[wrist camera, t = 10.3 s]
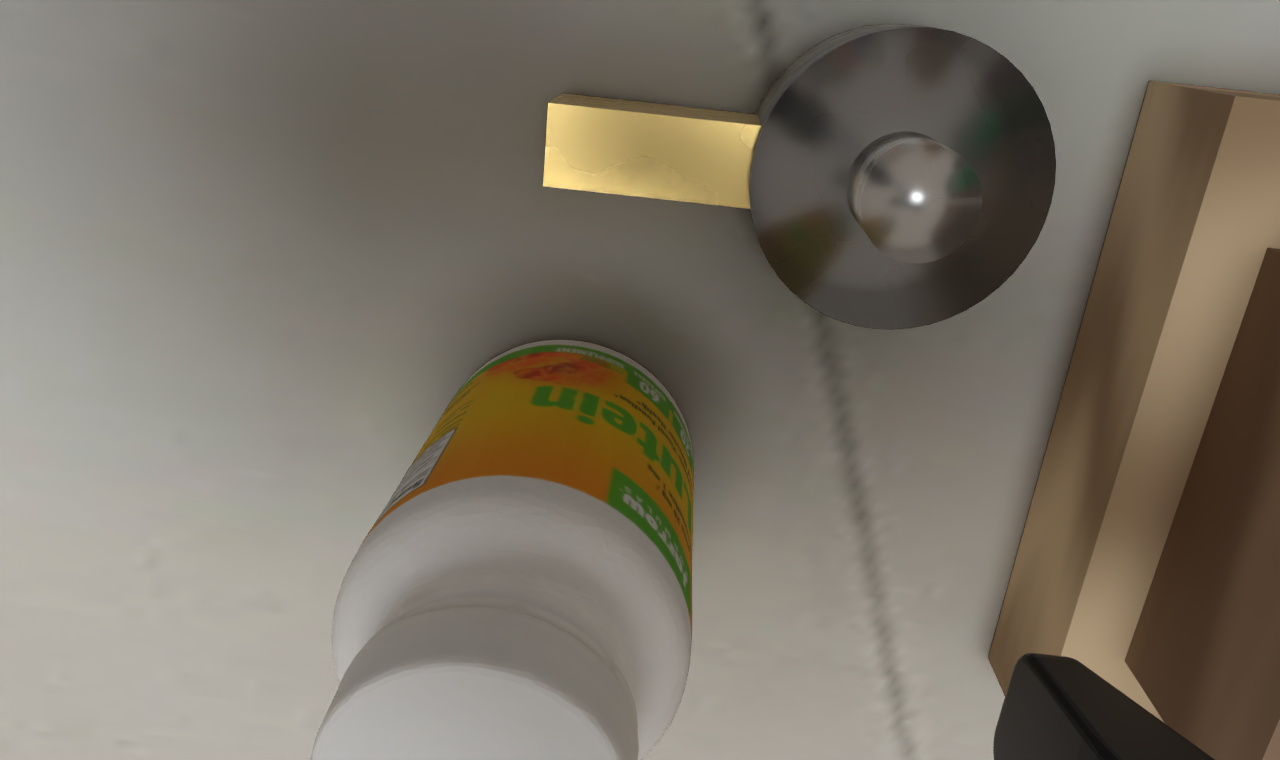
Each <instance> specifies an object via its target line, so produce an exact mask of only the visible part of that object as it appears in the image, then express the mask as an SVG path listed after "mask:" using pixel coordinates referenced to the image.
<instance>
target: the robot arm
mask: <svg viewBox="0 0 1280 760" xmlns="http://www.w3.org/2000/svg"><path fill="white" fill-rule="evenodd" d="M993 751H994V760H1215V759H1214V758H1212V757H1211V756H1209V755H1208V754H1207V753H1205V752H1204V751H1202V750H1201V749H1200V748H1198V747H1197V746H1196V745H1194V744H1193V743H1191V742H1190V741H1189V740H1187V739H1186V738H1184V737H1183V736H1182V735H1180V734H1179V733H1178V732H1176V731H1175V730H1173V729H1172V728H1171V727H1169V726H1168V725H1166V724H1165V723H1164V722H1162V721H1161V720H1160V719H1158V718H1157V717H1155V716H1154V715H1153V714H1151V713H1150V712H1148V711H1147V710H1146V709H1144V708H1143V707H1142V706H1140V705H1139V704H1137V703H1136V702H1135V701H1133V700H1132V699H1130V698H1129V697H1128V696H1126V695H1125V694H1124V693H1122V692H1121V691H1119V690H1118V689H1117V688H1115V687H1114V686H1112V685H1111V684H1110V683H1108V682H1107V681H1106V680H1104V679H1103V678H1101V677H1100V676H1099V675H1097V674H1096V673H1095V672H1093V671H1092V670H1090V669H1089V668H1088V667H1086V666H1085V665H1083V664H1082V663H1081V662H1079V661H1078V660H1076V659H1073V658H1070V657H1065V656H1056V655H1047V654H1038V653H1026V654H1024V655H1023V656H1021V657H1020V658H1019V659H1018V661H1017V662H1016V664H1015V666H1014V669H1013V672H1012V676H1011V679H1010V682H1009V686H1008V689H1007V693H1006V696H1005V699H1004V703H1003V706H1002V710H1001V713H1000V716H999V720H998V723H997V727H996V730H995V735H994V749H993Z"/></svg>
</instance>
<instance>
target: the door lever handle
mask: <svg viewBox="0 0 1280 760" xmlns="http://www.w3.org/2000/svg"><path fill="white" fill-rule="evenodd" d="M1055 170H1056V159H1055V146H1054V140H1053V135H1052V131H1051V127H1050V123H1049V120H1048V118H1047V115H1046V112H1045V110H1044V107H1043V105H1042V103H1041V101H1040V99H1039V98H1038V96H1037V94H1036V92H1035V90H1034V89H1033V87H1032V86H1031V85H1030V83H1029V82H1028V81H1027V79H1026V78H1025V77H1024V76H1023V74H1022V73H1021V72H1020V71H1019V70H1018V69H1017V68H1016V67H1015V66H1014V65H1013V64H1012V63H1011V62H1010V61H1009V60H1008V59H1007V58H1005V57H1004V56H1002V55H1001V54H999V53H998V52H997V51H995V50H994V49H992V48H991V47H989V46H987V45H985V44H983V43H981V42H979V41H977V40H975V39H973V38H971V37H968V36H965V35H962V34H959V33H956V32H953V31H948V30H942V29H936V28H930V27H921V26H913V25H904V24H879V25H869V26H864V27H860V28H856V29H851V30H848V31H845V32H843V33H840V34H837V35H835V36H832V37H830V38H828V39H826V40H824V41H823V42H821V43H819V44H817V45H815V46H814V47H812V48H811V49H809V50H808V51H807V52H805V53H804V54H802V55H801V56H800V57H798V58H797V59H796V60H795V61H794V62H793V63H792V64H791V65H790V66H789V67H788V68H786V69H785V70H784V72H783V73H782V74H781V75H780V76H779V78H778V79H777V80H776V81H775V82H774V83H773V85H772V86H771V88H770V89H769V91H768V92H767V94H766V96H765V97H764V99H763V100H762V102H761V104H760V106H759V108H758V111H757V113H756V114H749V113H740V112H731V111H721V110H712V109H703V108H694V107H685V106H675V105H666V104H657V103H648V102H638V101H629V100H620V99H611V98H602V97H592V96H583V95H574V94H565V93H562V94H560V95H559V96H557V97H556V98H554V99H553V100H551V101H550V102H549V103H548V114H547V130H546V146H545V162H544V178H543V186H546V187H555V188H564V189H573V190H582V191H591V192H600V193H610V194H619V195H628V196H637V197H646V198H655V199H664V200H673V201H682V202H692V203H701V204H710V205H719V206H728V207H737V208H746V209H750V212H751V216H752V220H753V224H754V228H755V231H756V234H757V237H758V240H759V243H760V246H761V248H762V250H763V252H764V254H765V256H766V258H767V260H768V262H769V263H770V265H771V266H772V268H773V269H774V271H775V272H776V274H777V275H778V277H779V278H780V279H781V280H782V281H783V282H784V283H785V285H786V286H787V287H788V288H789V289H790V290H791V291H792V292H793V293H794V294H795V295H797V296H798V297H799V298H800V299H801V300H803V301H804V302H805V303H807V304H808V305H810V306H811V307H813V308H814V309H816V310H818V311H819V312H821V313H823V314H825V315H827V316H829V317H832V318H834V319H836V320H839V321H842V322H845V323H848V324H852V325H855V326H861V327H866V328H872V329H890V330H893V329H906V328H914V327H919V326H924V325H929V324H932V323H935V322H939V321H942V320H945V319H948V318H950V317H952V316H954V315H957V314H959V313H961V312H963V311H965V310H967V309H969V308H970V307H972V306H974V305H975V304H977V303H979V302H980V301H982V300H983V299H985V298H986V297H987V296H989V295H990V294H991V293H992V292H994V291H995V290H996V289H998V288H999V287H1000V286H1001V285H1002V284H1003V283H1004V282H1005V281H1006V280H1007V279H1008V278H1009V277H1010V276H1011V275H1012V274H1013V273H1014V272H1015V270H1016V269H1017V268H1018V267H1019V265H1020V264H1021V263H1022V262H1023V260H1024V259H1025V258H1026V256H1027V255H1028V253H1029V252H1030V250H1031V248H1032V247H1033V245H1034V244H1035V242H1036V240H1037V238H1038V236H1039V234H1040V232H1041V230H1042V227H1043V225H1044V223H1045V220H1046V217H1047V214H1048V211H1049V208H1050V205H1051V201H1052V196H1053V190H1054V185H1055Z"/></svg>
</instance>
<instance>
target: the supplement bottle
mask: <svg viewBox="0 0 1280 760" xmlns="http://www.w3.org/2000/svg"><path fill="white" fill-rule="evenodd" d="M693 491H694V467H693V452H692V445H691V439H690V435H689V432H688V428H687V425H686V423H685V420H684V417H683V415H682V413H681V411H680V410H679V408H678V406H677V404H676V402H675V401H674V399H673V398H672V396H671V395H670V393H669V392H668V391H667V389H666V388H665V387H664V386H663V385H662V384H661V383H660V382H659V381H658V380H657V379H656V378H655V377H654V376H653V375H652V374H651V373H650V372H649V371H648V370H646V369H645V368H644V367H642V366H641V365H640V364H638V363H636V362H635V361H633V360H632V359H630V358H628V357H627V356H625V355H623V354H621V353H619V352H616V351H614V350H611V349H609V348H606V347H603V346H600V345H597V344H593V343H588V342H583V341H575V340H546V341H539V342H533V343H529V344H525V345H522V346H519V347H516V348H513V349H511V350H509V351H506V352H504V353H502V354H500V355H498V356H497V357H495V358H493V359H492V360H490V361H489V362H487V363H486V364H485V365H483V366H482V367H481V368H480V369H478V370H477V371H476V372H475V373H474V374H473V375H472V376H471V377H470V378H469V379H468V380H467V381H466V382H465V384H464V385H463V386H462V387H461V388H460V390H459V391H458V392H457V394H456V395H455V396H454V398H453V399H452V401H451V402H450V404H449V405H448V407H447V408H446V410H445V412H444V413H443V415H442V416H441V418H440V420H439V421H438V423H437V425H436V426H435V428H434V429H433V431H432V433H431V434H430V436H429V437H428V439H427V441H426V442H425V444H424V445H423V447H422V448H421V450H420V452H419V454H418V455H417V457H416V458H415V460H414V462H413V463H412V465H411V467H410V468H409V469H408V471H407V472H406V474H405V476H404V477H403V479H402V481H401V482H400V484H399V486H398V488H397V489H396V491H395V492H394V494H393V495H392V497H391V499H390V501H389V502H388V504H387V505H386V507H385V508H384V510H383V512H382V513H381V515H380V517H379V518H378V519H377V521H376V522H375V524H374V526H373V527H372V529H371V530H370V531H369V533H368V535H367V536H366V538H365V539H364V541H363V542H362V544H361V546H360V548H359V550H358V552H357V553H356V555H355V557H354V559H353V560H352V563H351V565H350V567H349V568H348V571H347V573H346V575H345V577H344V579H343V582H342V585H341V588H340V590H339V593H338V596H337V600H336V605H335V609H334V617H333V628H332V651H333V660H334V665H335V670H336V674H337V677H338V680H339V683H340V684H339V687H338V690H337V692H336V694H335V696H334V699H333V701H332V703H331V705H330V707H329V709H328V711H327V714H326V716H325V718H324V720H323V722H322V724H321V726H320V728H319V731H318V733H317V736H316V739H315V743H314V747H313V751H312V755H311V760H642V759H643V758H644V757H645V756H646V755H647V754H648V753H649V752H650V751H651V750H652V749H653V747H654V746H655V745H656V744H657V743H658V741H659V740H660V739H661V737H662V736H663V735H664V733H665V732H666V730H667V729H668V727H669V725H670V724H671V722H672V720H673V718H674V716H675V713H676V711H677V709H678V707H679V704H680V702H681V698H682V695H683V692H684V689H685V685H686V680H687V676H688V671H689V664H690V655H691V643H692V537H693Z"/></svg>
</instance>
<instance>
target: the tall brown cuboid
mask: <svg viewBox="0 0 1280 760" xmlns="http://www.w3.org/2000/svg"><path fill="white" fill-rule="evenodd" d="M1125 663H1126V664H1127V666H1128V667H1129V669H1130V670H1131V672H1132V673H1133V675H1134V676H1135V678H1136V680H1137V681H1138V683H1139V684H1140V686H1141V687H1142V689H1143V690H1144V692H1145V693H1146V695H1147V697H1148V698H1149V700H1150V701H1151V703H1152V704H1153V706H1154V707H1155V709H1156V710H1157V712H1158V714H1159V715H1160V717H1161V718H1162V720H1163V721H1164V723H1165V724H1166V725H1168V726H1169V727H1171V728H1172V729H1173V730H1175V731H1176V732H1178V733H1179V734H1180V735H1182V736H1183V737H1184V738H1186V739H1187V740H1189V741H1190V742H1191V743H1193V744H1194V745H1196V746H1197V747H1198V748H1200V749H1201V750H1202V751H1204V752H1205V753H1207V754H1208V755H1209V756H1211V757H1212V758H1214V759H1215V760H1280V249H1277V248H1268V247H1267V250H1266V253H1265V256H1264V259H1263V261H1262V264H1261V267H1260V270H1259V273H1258V276H1257V279H1256V282H1255V285H1254V287H1253V290H1252V293H1251V296H1250V299H1249V302H1248V305H1247V308H1246V311H1245V314H1244V316H1243V319H1242V322H1241V325H1240V328H1239V331H1238V334H1237V337H1236V340H1235V342H1234V345H1233V348H1232V351H1231V354H1230V357H1229V360H1228V363H1227V366H1226V368H1225V371H1224V374H1223V377H1222V380H1221V383H1220V386H1219V389H1218V392H1217V394H1216V397H1215V400H1214V403H1213V406H1212V409H1211V412H1210V415H1209V418H1208V421H1207V423H1206V426H1205V429H1204V432H1203V435H1202V438H1201V441H1200V444H1199V447H1198V449H1197V452H1196V455H1195V458H1194V461H1193V464H1192V467H1191V470H1190V473H1189V475H1188V478H1187V481H1186V484H1185V487H1184V490H1183V493H1182V496H1181V499H1180V502H1179V504H1178V507H1177V510H1176V513H1175V516H1174V519H1173V522H1172V525H1171V528H1170V530H1169V533H1168V536H1167V539H1166V542H1165V545H1164V548H1163V551H1162V554H1161V556H1160V559H1159V562H1158V565H1157V568H1156V571H1155V574H1154V577H1153V580H1152V582H1151V585H1150V588H1149V591H1148V594H1147V597H1146V600H1145V603H1144V606H1143V609H1142V611H1141V614H1140V617H1139V620H1138V623H1137V626H1136V629H1135V632H1134V635H1133V637H1132V640H1131V643H1130V646H1129V649H1128V652H1127V655H1126V658H1125Z"/></svg>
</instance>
